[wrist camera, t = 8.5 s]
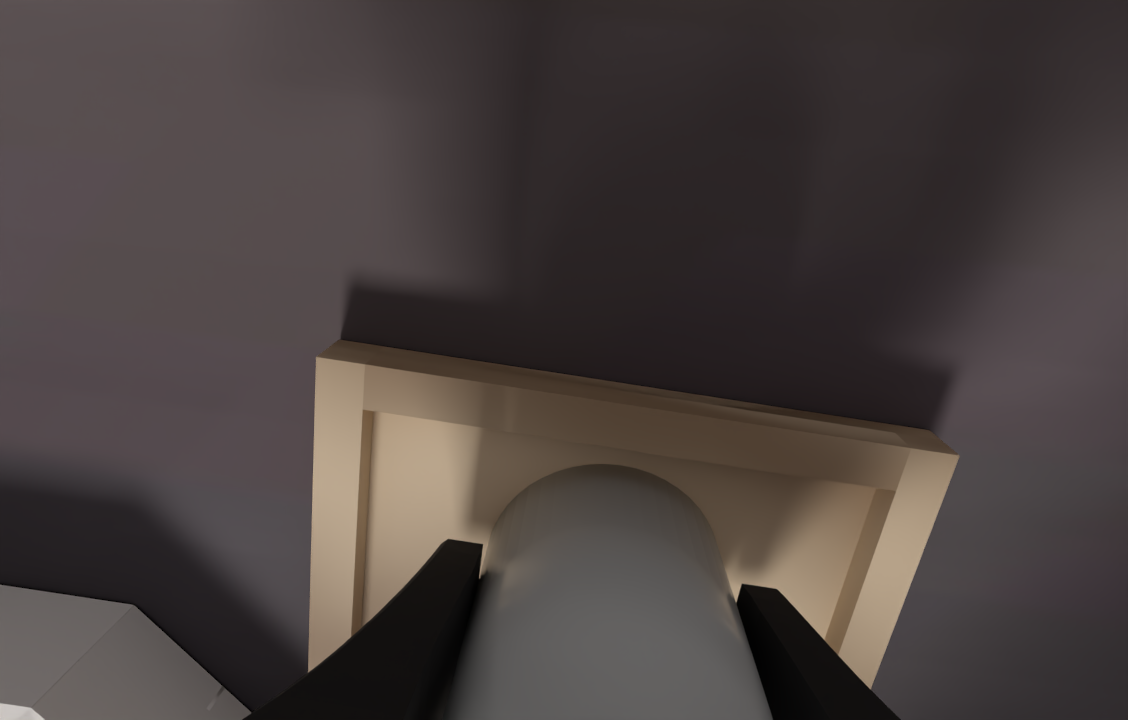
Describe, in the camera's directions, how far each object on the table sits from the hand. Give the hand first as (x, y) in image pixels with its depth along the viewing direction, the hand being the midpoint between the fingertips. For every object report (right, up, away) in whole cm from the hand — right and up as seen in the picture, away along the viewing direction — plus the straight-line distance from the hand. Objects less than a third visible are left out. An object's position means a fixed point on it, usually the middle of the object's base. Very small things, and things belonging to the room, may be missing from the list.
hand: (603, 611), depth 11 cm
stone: (0, 0, +1) cm, 1 cm away
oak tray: (0, -3, +2) cm, 4 cm away
